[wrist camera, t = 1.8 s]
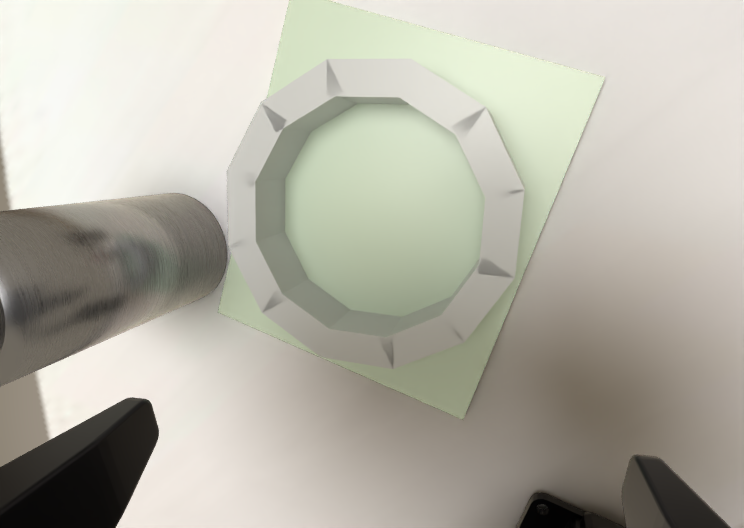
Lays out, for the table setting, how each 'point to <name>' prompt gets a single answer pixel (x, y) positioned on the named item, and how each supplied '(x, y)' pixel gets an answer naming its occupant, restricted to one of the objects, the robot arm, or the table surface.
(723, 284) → the table surface
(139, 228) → the metal bottle
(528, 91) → the ring plate
